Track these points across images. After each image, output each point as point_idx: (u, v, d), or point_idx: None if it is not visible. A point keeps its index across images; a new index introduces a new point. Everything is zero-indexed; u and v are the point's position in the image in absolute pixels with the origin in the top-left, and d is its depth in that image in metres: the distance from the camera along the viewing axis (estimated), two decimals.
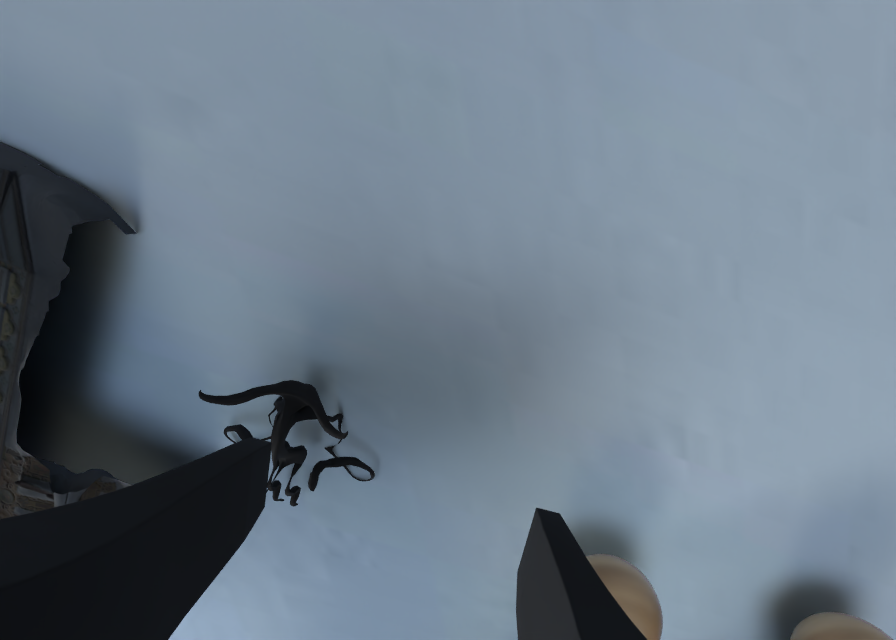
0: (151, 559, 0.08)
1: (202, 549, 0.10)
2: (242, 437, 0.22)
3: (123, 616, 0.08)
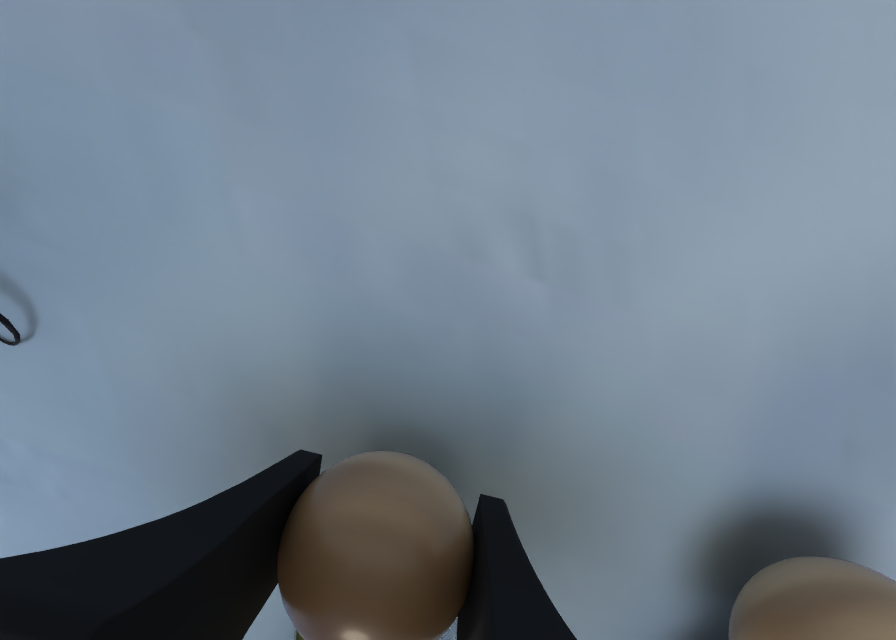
0: (224, 578, 0.08)
1: (263, 565, 0.10)
2: None
3: (200, 637, 0.08)
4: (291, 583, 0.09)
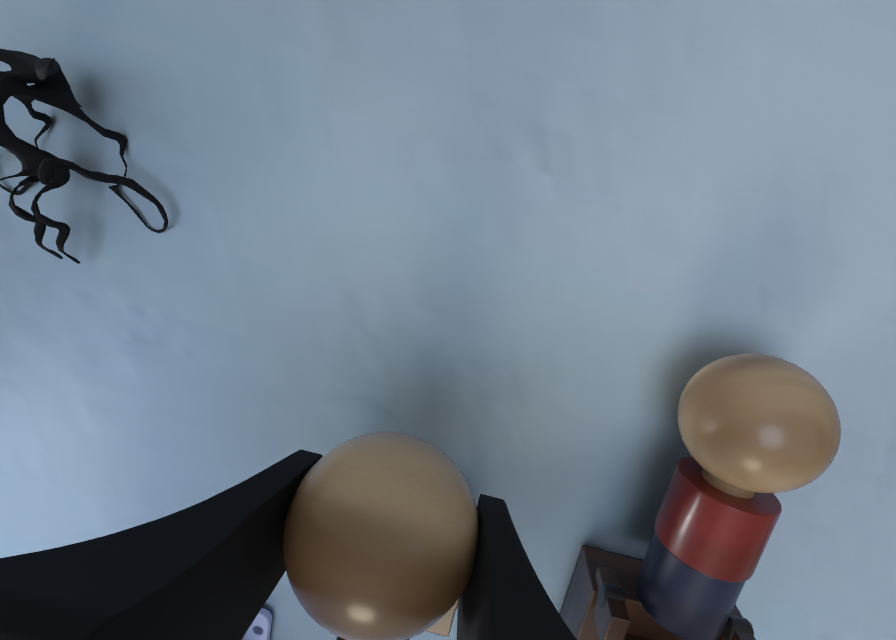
0: (224, 578, 0.08)
1: (263, 565, 0.10)
2: None
3: (200, 637, 0.08)
4: (297, 597, 0.10)
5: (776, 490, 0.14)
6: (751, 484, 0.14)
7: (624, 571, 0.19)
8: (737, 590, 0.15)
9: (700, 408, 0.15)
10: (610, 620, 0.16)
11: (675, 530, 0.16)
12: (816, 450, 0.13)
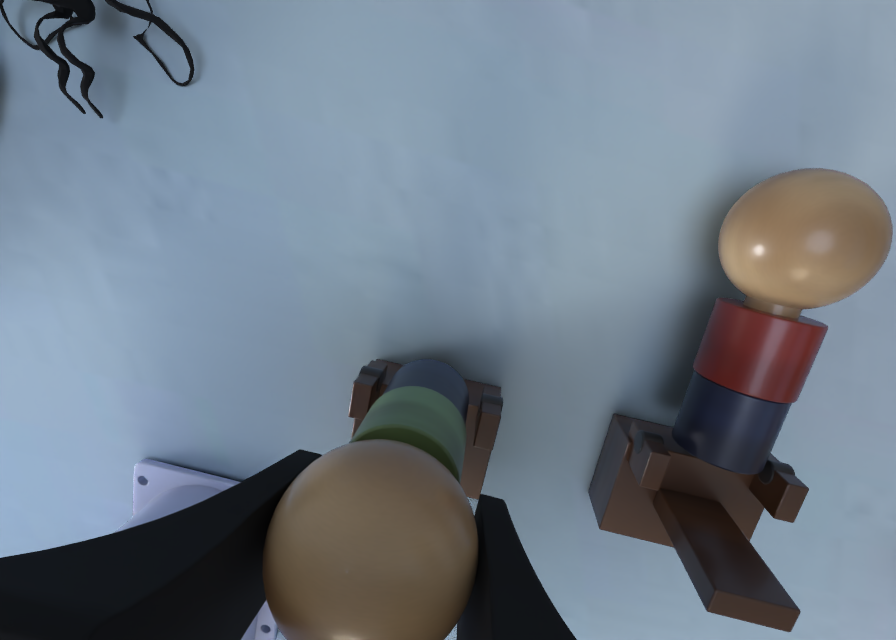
0: (223, 578, 0.08)
1: (262, 565, 0.10)
2: None
3: (199, 637, 0.08)
4: None
5: (826, 294, 0.14)
6: (800, 289, 0.14)
7: (657, 432, 0.19)
8: (782, 415, 0.15)
9: (746, 219, 0.14)
10: (650, 456, 0.16)
11: (717, 357, 0.15)
12: (870, 240, 0.13)
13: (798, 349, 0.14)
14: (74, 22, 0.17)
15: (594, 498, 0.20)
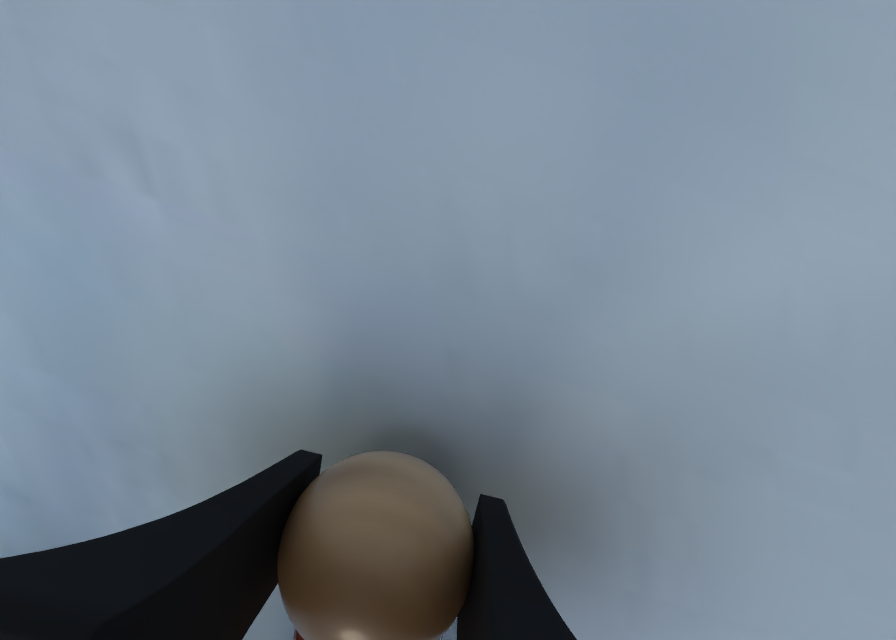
0: (224, 578, 0.08)
1: (263, 565, 0.10)
2: None
3: (200, 637, 0.08)
4: None
5: None
6: None
7: None
8: None
9: None
10: None
11: None
12: (384, 626, 0.09)
13: None
14: None
15: None
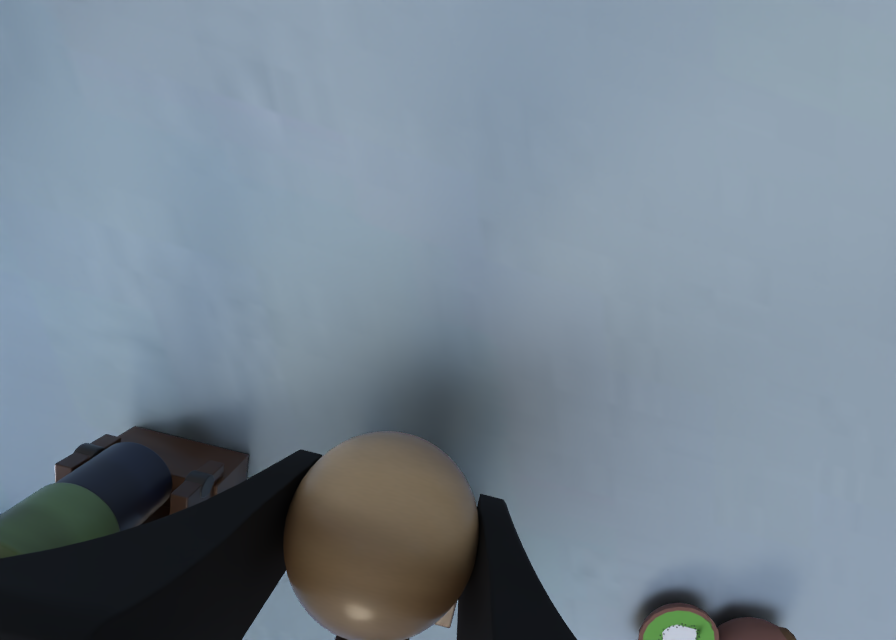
0: (224, 578, 0.08)
1: (263, 565, 0.10)
2: None
3: (200, 637, 0.08)
4: None
5: None
6: None
7: None
8: None
9: None
10: None
11: None
12: None
13: None
14: None
15: None
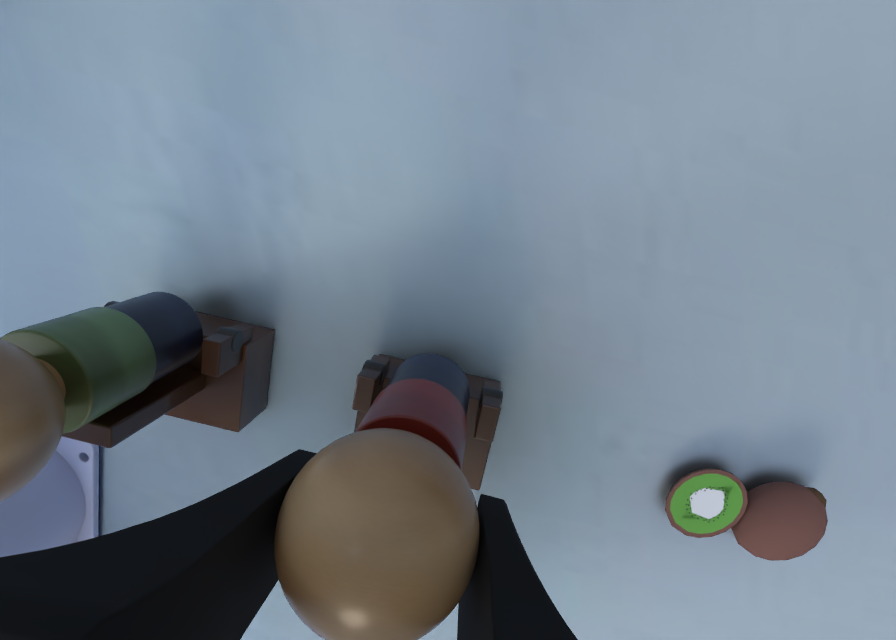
0: (222, 578, 0.08)
1: (261, 565, 0.10)
2: None
3: (198, 637, 0.08)
4: None
5: None
6: None
7: None
8: None
9: None
10: (357, 379, 0.17)
11: None
12: None
13: None
14: None
15: None
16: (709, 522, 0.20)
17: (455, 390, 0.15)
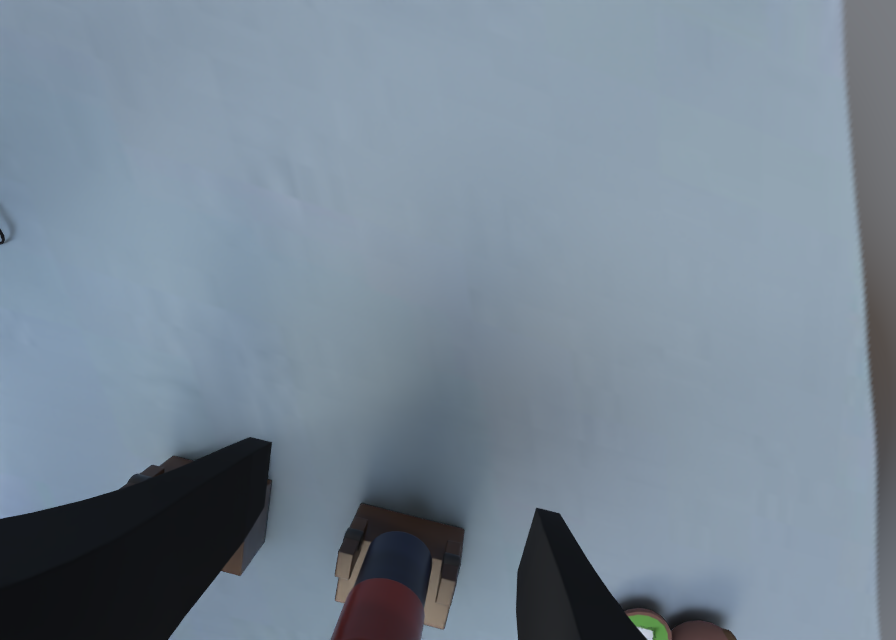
0: (151, 559, 0.08)
1: (202, 549, 0.10)
2: None
3: (123, 616, 0.08)
4: None
5: None
6: None
7: (385, 522, 0.24)
8: None
9: None
10: (338, 554, 0.21)
11: None
12: None
13: None
14: None
15: None
16: None
17: (415, 581, 0.19)
